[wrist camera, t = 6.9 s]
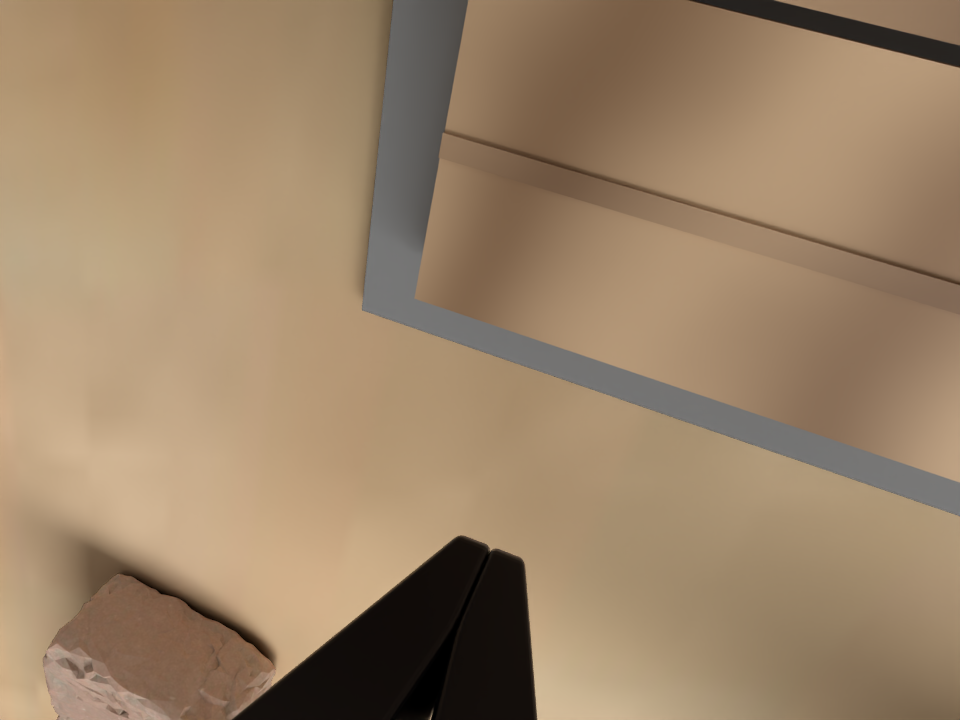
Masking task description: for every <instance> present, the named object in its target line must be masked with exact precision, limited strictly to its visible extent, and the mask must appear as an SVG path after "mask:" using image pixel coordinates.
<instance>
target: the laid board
mask: <svg viewBox="0 0 960 720" xmlns="http://www.w3.org/2000/svg"><path fill="white" fill-rule="evenodd" d="M775 1H779V2H783V3H788V4H792V5H796V6H800V7H804V8H808V9H812V10H816V11H820V12H824V13H829V14H833V15H837V16H841V17H845V18H849V19H853V20H857V21H861V22H865V23H870V24H874V25H878V26H882V27H886V28H890V29H894V30H898V31H902V32H906V33H911V34H915V35H919V36H923V37H927V38H931V39H935V40H939V41H943V42H947V43H952V44H956V45H960V0H775Z"/></svg>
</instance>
